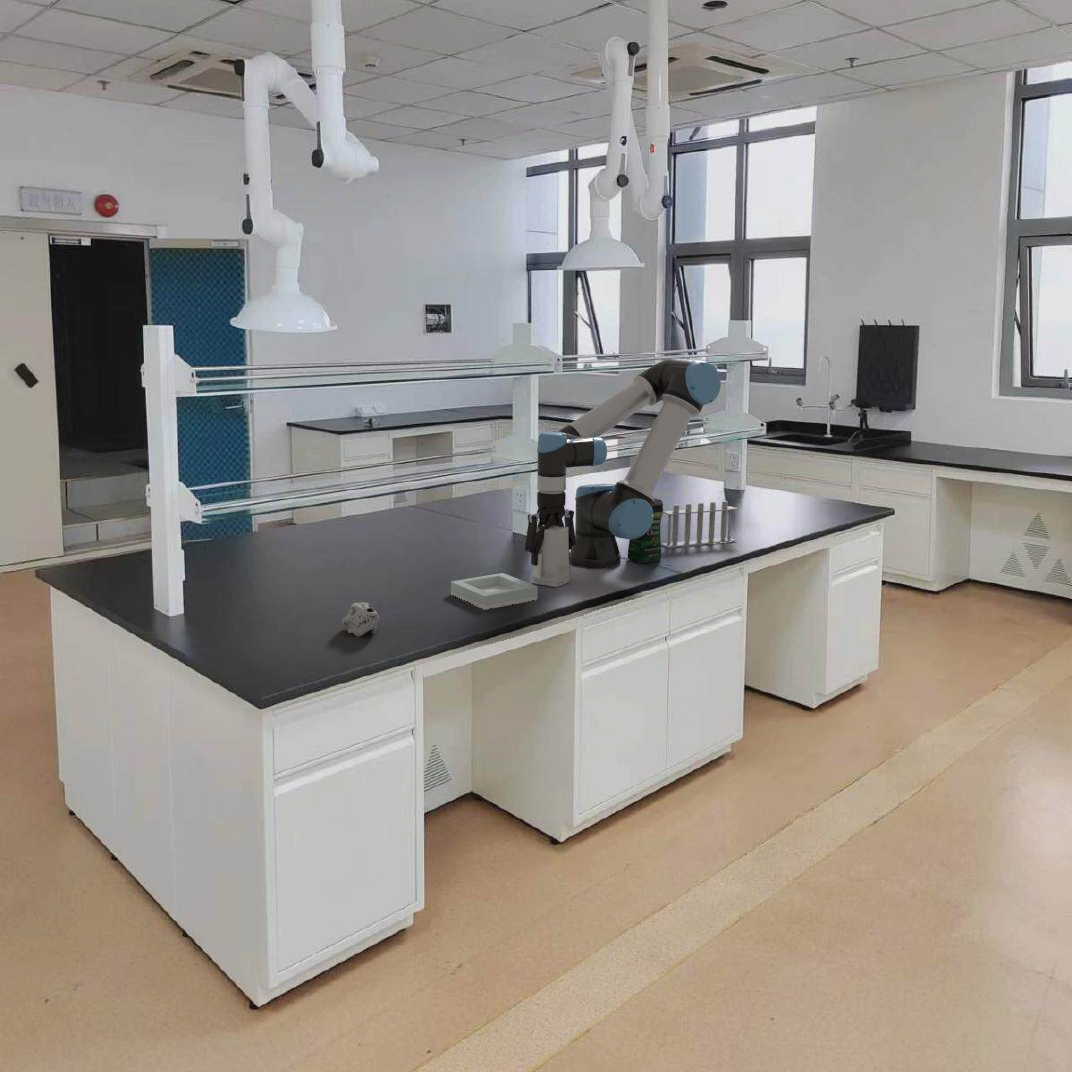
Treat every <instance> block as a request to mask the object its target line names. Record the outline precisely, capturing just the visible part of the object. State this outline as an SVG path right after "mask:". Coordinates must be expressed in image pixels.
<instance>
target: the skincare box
mask: <svg viewBox="0 0 1072 1072" xmlns="http://www.w3.org/2000/svg"><path fill="white" fill-rule="evenodd" d="M543 526H544V525H543ZM539 530H540V529H539V528H538V525H537V531H536V533H537V532H538V531H539ZM539 553H540V554H542V559H541V578H537V577H535V576H533V565H532V564H531V577H532V578H531V579H532V583H531V584H533V585H541V586H548V587H552V588H559V587H561V586H564V585H566V584H568V583H570V563H569V553H570V550H569V540H568V527H565V525H564V526H563V527H559V526H554V525H553V526H550V527H549V529H546V530H544V540H543V543H542V545H541V548H540V551H539Z"/></svg>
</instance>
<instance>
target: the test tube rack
mask: <svg viewBox="0 0 1072 1072" xmlns="http://www.w3.org/2000/svg"><path fill="white" fill-rule="evenodd" d="M697 503H698V504H697V508H692V503H686V504H685V509H680V504H676V503H675V504H673V509H672V510H665V511H664V510H663V514H664V515H665V514H666V515H667V518H668V520H667V541H666V542H663V543H661V545H662V546H661V547H663V546H664V547H663V548H665V547H667V548H666V549H668V548H670V549H678V548H677V547H681V548H688V547H687V546H691V547H696V546H695V545H702V546H705V545H704V544H712V545H714V544H713V543H720V542H729V541H736V542H737V539H734V538H732V537H731V531H732V512H733V511H738V510H739V508H738V507H734V506H732V505H731V506H730V505H728V504H729V502H728V500H722V501H721V506H716V505H717V504H716V503H717V502H716V501H710V503H709V507H705V504H704V503H705V502H697ZM716 512H721V518H720V519H721V520H720V535H719V536H720V537H719V538H717V537H716V538H715V525H716ZM704 513H709V520H708V521H709V522H708V538H705V539H703V530H704V529H703V528H704V527H703V525H704ZM692 514H697V517H696V518H697V519H696V521H697V522H696V540H695V539H694V540H691V527H692V526H691V522H692ZM680 515H684V516H685V518H684V537H683V538H684V541H683V540H682V541H679V518H680V517H679V516H680ZM727 522H728V524H727ZM671 523H672V524H671ZM671 525H672V527H671ZM727 525H728V526H727ZM671 528H672V530H671ZM671 531H672V532H671ZM671 533H672V534H671ZM671 536H672V537H671Z"/></svg>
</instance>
